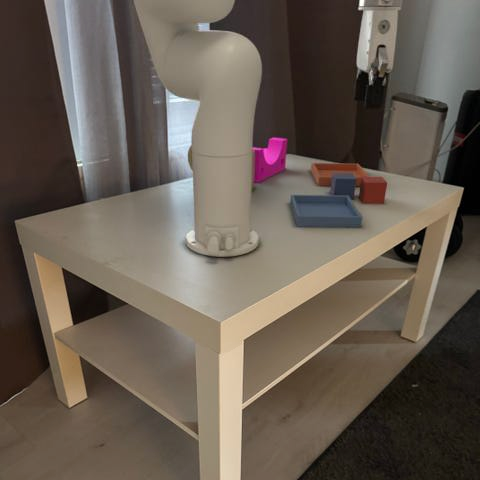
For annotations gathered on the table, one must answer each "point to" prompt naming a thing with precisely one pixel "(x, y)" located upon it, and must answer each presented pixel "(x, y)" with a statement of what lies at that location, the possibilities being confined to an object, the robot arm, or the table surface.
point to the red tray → (325, 170)
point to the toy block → (270, 159)
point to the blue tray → (325, 211)
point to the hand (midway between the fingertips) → (366, 104)
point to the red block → (372, 189)
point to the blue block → (343, 184)
